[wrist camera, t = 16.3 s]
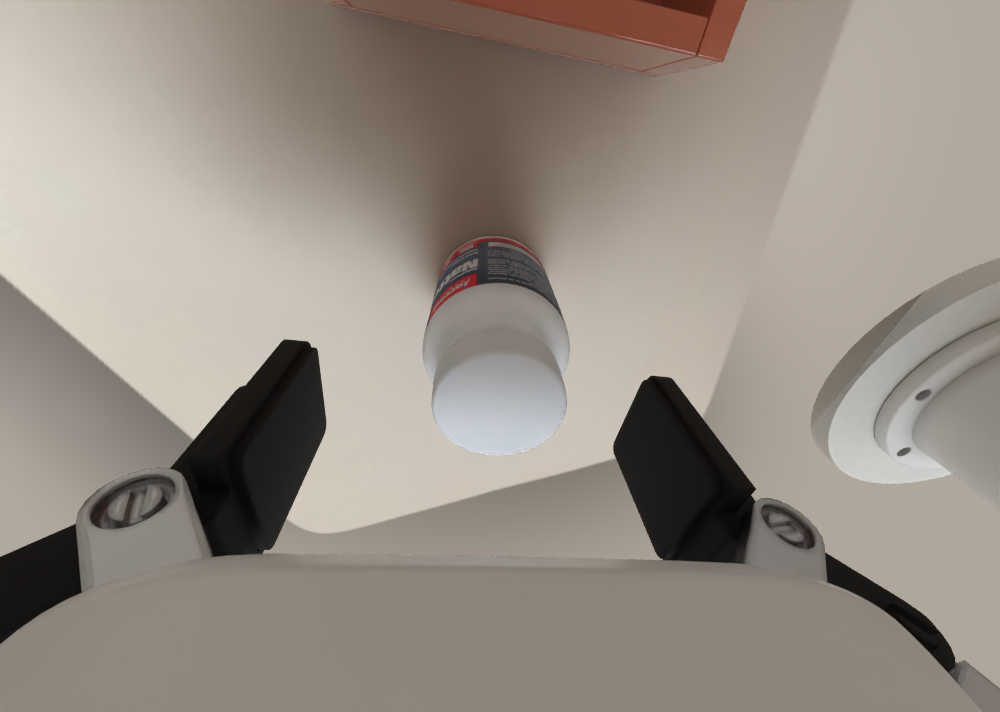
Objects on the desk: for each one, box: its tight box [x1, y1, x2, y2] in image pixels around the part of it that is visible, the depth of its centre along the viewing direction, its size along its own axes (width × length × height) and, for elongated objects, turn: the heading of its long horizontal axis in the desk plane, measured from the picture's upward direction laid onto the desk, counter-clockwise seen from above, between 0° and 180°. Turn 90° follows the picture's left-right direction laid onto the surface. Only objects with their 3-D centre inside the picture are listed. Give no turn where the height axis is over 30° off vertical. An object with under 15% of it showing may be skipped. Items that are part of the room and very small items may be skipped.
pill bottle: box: [423, 236, 570, 455], centre depth 14 cm, size 5×5×9 cm
